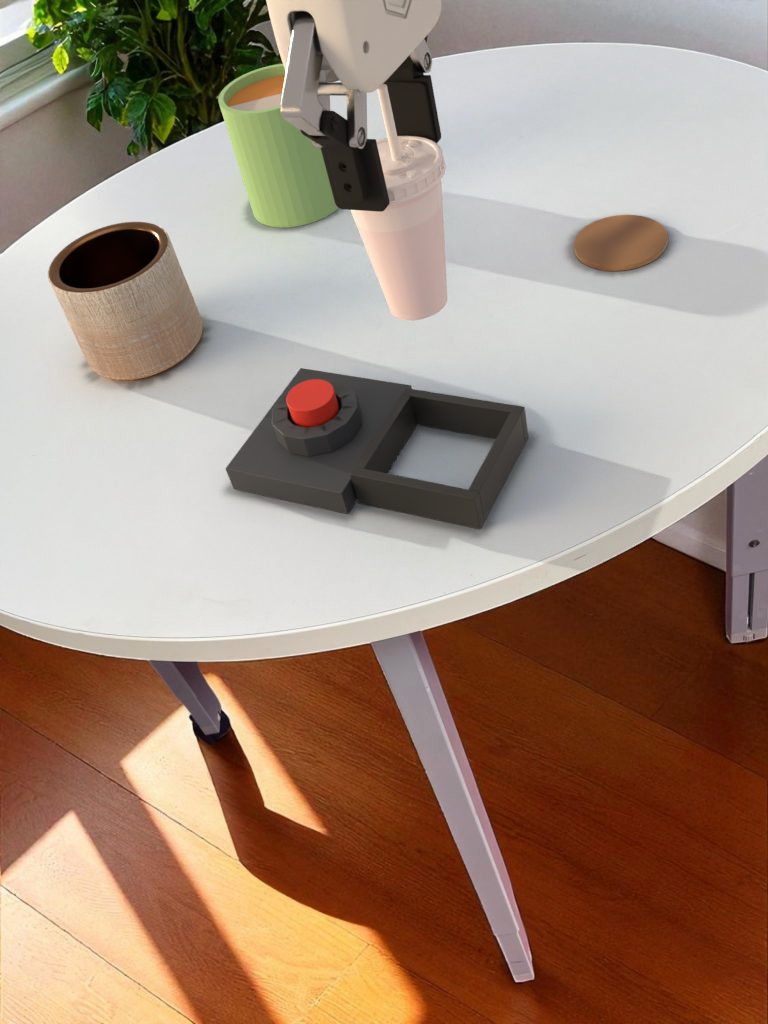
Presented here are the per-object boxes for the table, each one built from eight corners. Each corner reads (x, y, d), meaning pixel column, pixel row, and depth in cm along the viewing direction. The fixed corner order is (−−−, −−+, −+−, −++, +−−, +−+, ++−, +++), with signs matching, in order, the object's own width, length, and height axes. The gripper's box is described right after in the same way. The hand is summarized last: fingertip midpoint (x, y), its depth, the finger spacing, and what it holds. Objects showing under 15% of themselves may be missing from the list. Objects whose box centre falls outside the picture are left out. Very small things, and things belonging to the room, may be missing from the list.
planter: (66, 376, 96) (20, 287, 89) (131, 304, 102) (93, 216, 95) (164, 392, 91) (124, 299, 85) (226, 315, 98) (194, 224, 91)
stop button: (347, 400, 80) (342, 382, 79) (325, 432, 78) (319, 414, 77) (306, 393, 82) (300, 375, 81) (283, 424, 80) (277, 406, 78)
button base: (416, 406, 84) (407, 366, 81) (348, 514, 77) (336, 475, 74) (307, 388, 88) (295, 350, 85) (233, 489, 81) (217, 451, 78)
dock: (529, 437, 79) (525, 406, 77) (480, 529, 73) (474, 499, 71) (412, 417, 83) (405, 387, 81) (358, 503, 78) (349, 474, 75)
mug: (358, 211, 106) (331, 95, 98) (256, 237, 106) (220, 123, 98) (342, 154, 115) (316, 43, 107) (248, 178, 115) (215, 69, 107)
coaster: (678, 223, 94) (678, 217, 94) (652, 275, 90) (652, 270, 89) (590, 216, 98) (590, 211, 97) (561, 266, 93) (561, 261, 93)
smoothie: (470, 324, 65) (430, 103, 55) (367, 340, 66) (310, 126, 56) (467, 266, 69) (429, 52, 60) (370, 282, 70) (318, 75, 61)
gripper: (292, -121, 42) (384, 264, 55) (460, -249, 52) (505, 102, 65) (144, -107, 46) (262, 254, 58) (328, -230, 56) (395, 101, 68)
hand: (390, 171), depth 61 cm, fingers closed on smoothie, 6 cm apart
